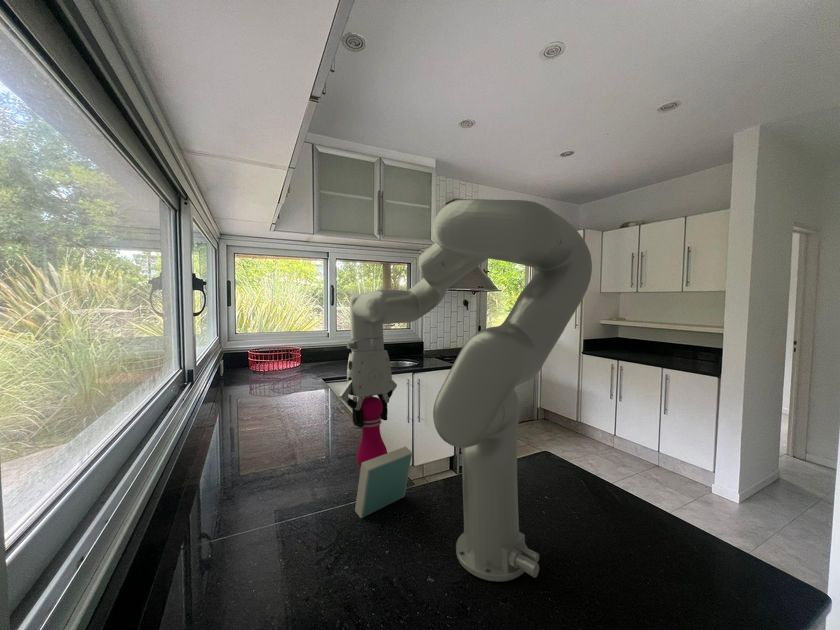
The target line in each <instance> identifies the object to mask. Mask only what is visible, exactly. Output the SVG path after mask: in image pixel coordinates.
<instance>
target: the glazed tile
mask: <svg viewBox="0 0 840 630" xmlns="http://www.w3.org/2000/svg"><path fill="white" fill-rule="evenodd" d="M412 457H413V452H412V451H411V450H410V449H409V448H408V447H407V446H403V447H400V448H398V449H395V450H392V451H390V452H387V454H384V455H381V456H379V457H376V458H373V459H371V460H368V461H365V462H363V463H361V467H360V468H361V470H360V476H359V478H358V479H359V480H358V484H357V485H358V486H357V492H356V493H357V494H356V501H355V508H354V512H355V513H356V514H357V515H358V517H359V518H360V519H363V518H366V517H367V516H369V515H371V514H373V513H375V512H377V511H378V510H381V509H383V508H384V507H386V506H389V505H391V504H393V503H395V502H397V501H399V500H400V499H403V498H405V496H406V490H407V486H408V485H407V484H408V478H409V472H410V468H411V463H412V462H411V461H412Z"/></svg>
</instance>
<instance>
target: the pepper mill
mask: <svg viewBox="0 0 840 630" xmlns="http://www.w3.org/2000/svg"><path fill="white" fill-rule="evenodd" d="M361 409H362V410H363V424H364V426H363V427H362V428H361V430H362V431H361V434H362V435H361V439H360V443H359V445H358V449H357V452H356V463H357V464H358V466H360V467H359V469H358V471H359V474H358V475H359V477H360V470H361V463H363V462H365V461H368V460H371V459H373V458H376V457H379V456H381V455H384V454H387V453H388V450H387V447H386V445H385V443H384V440H383V439H382V435H381V428H380V427H381V424H382V419H381V417H380V414H381V413H382V411H383V404H382V402H381V400H380V399H379V398H378V396H377V397H376V396H370V397H365V398H363V401H362V405H361Z"/></svg>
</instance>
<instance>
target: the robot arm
mask: <svg viewBox="0 0 840 630" xmlns="http://www.w3.org/2000/svg"><path fill="white" fill-rule="evenodd" d="M432 237H433V239H434V243H432V244H431V245H430V246H429V247H428V248H426V249H425V250H424V251H422V253H420V255H419V257H418V263H417V264H418V269H419V272H420V274H421V276H422V279H420V281H418V282H417V283H416V284H415V285H413V286H412V287H410V288H409V289H407V290H401V289H400V290H399V289H375V290H372V291H370V292H363V293H362V292H361V293H356V294H352V295H351V297H350V298H349V318H350V342H347V343H346V348H347V349H348V350H349V349H350V351H351V352H349V355H348V360H347V368H346V369H347V370H346V385H345V386H344V387H343V388H342V390H341V391H340V393H339V394H338V398H339V399H340V400H341V401H343V402H344V403H345V404H346V405H347V406H348V407H349V408H350V409H352V423H353V425H354V426H355V427H358V428H360V429H362V427H363V426H364V424H363V410H362V409H361V405H362V401H363V398H365V397H370V396H373V397H375V396H377V398H379V399H380V400H381V402H382V404H383V411H382V413H381V414H380V417H381V421H388V412H389V411H388V404H389V402H390V400H391V397H392V395H394V391H395V390H396V388H397V386H398V384H397V383H396V382H395V381H394V380H393V376H392V374H393V373H392V367H391V362H390V361H391V360H390V356H389V353H388V350H387V349H386V350H385V347H384V345H385V344H384V343H385V342H384V325H391V324H407V323H412V322H415V321H417V320H419V319H421V318H422V317H424V316H425V315H427V314H428V313H429V312H431V311H432V310H434V309H435V308H436V307H438V305H439V304H441V301H442V300H443V298H444V297H445V295H446V294H447V291H448V289H449V288H450V287H451V286H453V285H454V284H455V283H457V282H458V281H459V280H461V279H462V278H463V277H465V276H466V275H467V274H468V273H470V272H471V271H473V270H475V269H476V268H477V267H479V266H481V264H483V263H484V262H486V261H487V260H489V259H490V260H495V261H503V262H507V263H513V264H517V265H520V266H522V265H523V266H525V267H526V266H527V267H529V268H533V269H534V274H533V277H532V278H531V279H530V281H529V282H528V284H526V286H525V287H524V288H523V290H522V291H521V292H520V293H519V295H518V297H517V298H516V301H515V303H514V305H513V307H512V308H511V309H510V311H509V313H508V315H506V316H507V317H506V318H505V319H504V321H503V322H502V323H501V324H500V325H498V326H490V327H487V328H483V329H481V330H479V331H477V332H476V333H474V334H473V335H472V336H470V337H469V339H468V340H467V341H466V342H465V344H464V345H463V346H462V348H461V350H460V352H459V353H458V355H457V357H456V359H455V360H454V363H453V364H452V367H451V368H450V371H449V372H448V374H447V375H446V378H445V380H444V382H443V383H442V385H441V388H440V389H439V391H438V392H437V395H436V398H435V401H434V404H433V405H434V406H433V408H432V409H433V411H432V418H433V425H434V428H435V430H436V432H437V435H439V437H440V439H442V440H443V441H444V442H445V443H446V444H448V445H449V446H452V447H456V448H460V449H462V450H461V463H462V465H461V472H462V475H461V476H462V499H463V500H462V501H463V503H462V504H463V505H462V506H463V532H462V533H461V534H460V536H459V537H458V539H457V541H456V543H455V551H456V552H455V554H456V557H457V559H458V562H459V564H460V565H461V566H462V567H463V568H464V569H465V570H466V571H467V572H468V573H470V574H472V575H473V576H475V577H477V578H479V579H482V580H486V581H488V582H489V581H490V582H508V581H511V580H514V579H516V578H519V577H520V576H522V575H523V574H524V573H526V574H527V575H530V576H531V577H533V578H537V577H538V575H539V572H540V564H539V563H538V562H539V560H540V554H539V553H538V552H536V551H534V550H532V549H530V548H528V546H527V545H526V537H525V536H526V535H525V534H524V533H523V532H520V525H519V522H520V521H519V499H518V496H519V495H518V494H519V493H518V492H519V491H518V459H517V457H518V454H517V453H518V452H517V451H518V450H517V449H518V448H517V446H518V445H517V443H518V442H517V441H518V432H519V423H520V422H519V421H520V400H519V395H518V394H517V391H516V390H515V389H516V387H518V386H520V385H523V384H525V383H526V382H528V381H530V380H532V379H533V378H534V377H536V375H538V373H539V372H540V371H541V370H542V368H543V366H544V364H545V362H546V360H547V359H548V357H549V355H550V354H551V352H552V351H553V349H554V347H555V346H556V345H557V343H558V341H559V339H560V337H561V336H562V334H563V333H564V331H565V329H566V327H567V325H568V323H570V321H571V319H572V317H573V315H575V313H576V311H577V309H578V307H579V306H580V304H581V302H582V301H583V299H584V297H585V295H586V293H587V291H588V288H589V286H590V282H591V279H592V273H593V261H592V260H593V259H592V254H591V252H590V250H589V246H588V245H587V243H586V241H585V240H584V238H583V237H582V235H581V234H580V233H579V231H578V230H577V229H576V228H575V227H574V226H573V225H572V224H571V223H570V222H569V221H567V220H566V219H565V218H564V217H562V216H561V215H559V214H557V213H556V212H554V211H553V210H551V209H550V208H548V207H547V206H545V205H544V204H541V203H538V202H536V201H532V200H531V201H530V200H523V199H488V198H487V199H486V198H485V199H484V198H481V199H480V198H462V199H457V200H454V201H451V202H449V203H447V204H446V205H444V206H443V207H442V208H441V209H440V210H439V212H438V213H437V214H436V217H435V218H434V221H433V225H432ZM349 395H350V396H352V398H350V396H349Z"/></svg>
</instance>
